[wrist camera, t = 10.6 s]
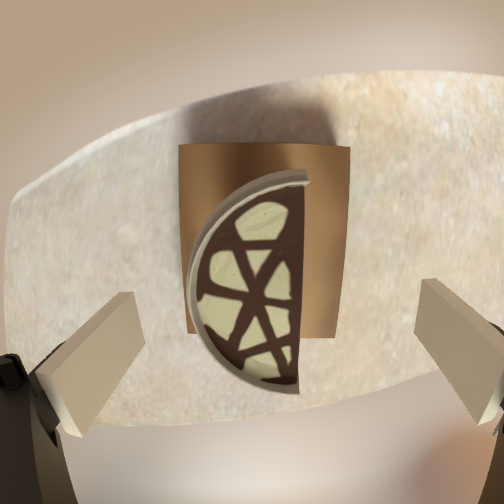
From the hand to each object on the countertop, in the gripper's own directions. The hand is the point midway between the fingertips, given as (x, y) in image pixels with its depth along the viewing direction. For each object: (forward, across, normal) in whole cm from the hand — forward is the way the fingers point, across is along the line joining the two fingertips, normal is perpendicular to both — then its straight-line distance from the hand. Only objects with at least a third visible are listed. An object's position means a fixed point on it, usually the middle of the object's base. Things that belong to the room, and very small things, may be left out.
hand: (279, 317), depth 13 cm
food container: (+12, +2, 0) cm, 12 cm away
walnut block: (+16, +1, 0) cm, 16 cm away
